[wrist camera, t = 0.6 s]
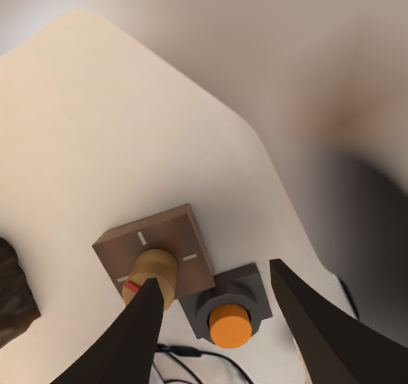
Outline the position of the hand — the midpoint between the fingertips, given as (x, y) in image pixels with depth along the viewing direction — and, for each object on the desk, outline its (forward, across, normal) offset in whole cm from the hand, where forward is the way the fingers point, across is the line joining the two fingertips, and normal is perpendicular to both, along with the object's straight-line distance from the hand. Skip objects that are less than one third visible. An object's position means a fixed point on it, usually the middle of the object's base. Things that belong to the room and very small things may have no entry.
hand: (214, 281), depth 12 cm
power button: (+6, 0, +12) cm, 13 cm away
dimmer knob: (+6, +6, +4) cm, 10 cm away
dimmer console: (+10, +6, +4) cm, 12 cm away
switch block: (+9, 0, +12) cm, 15 cm away
